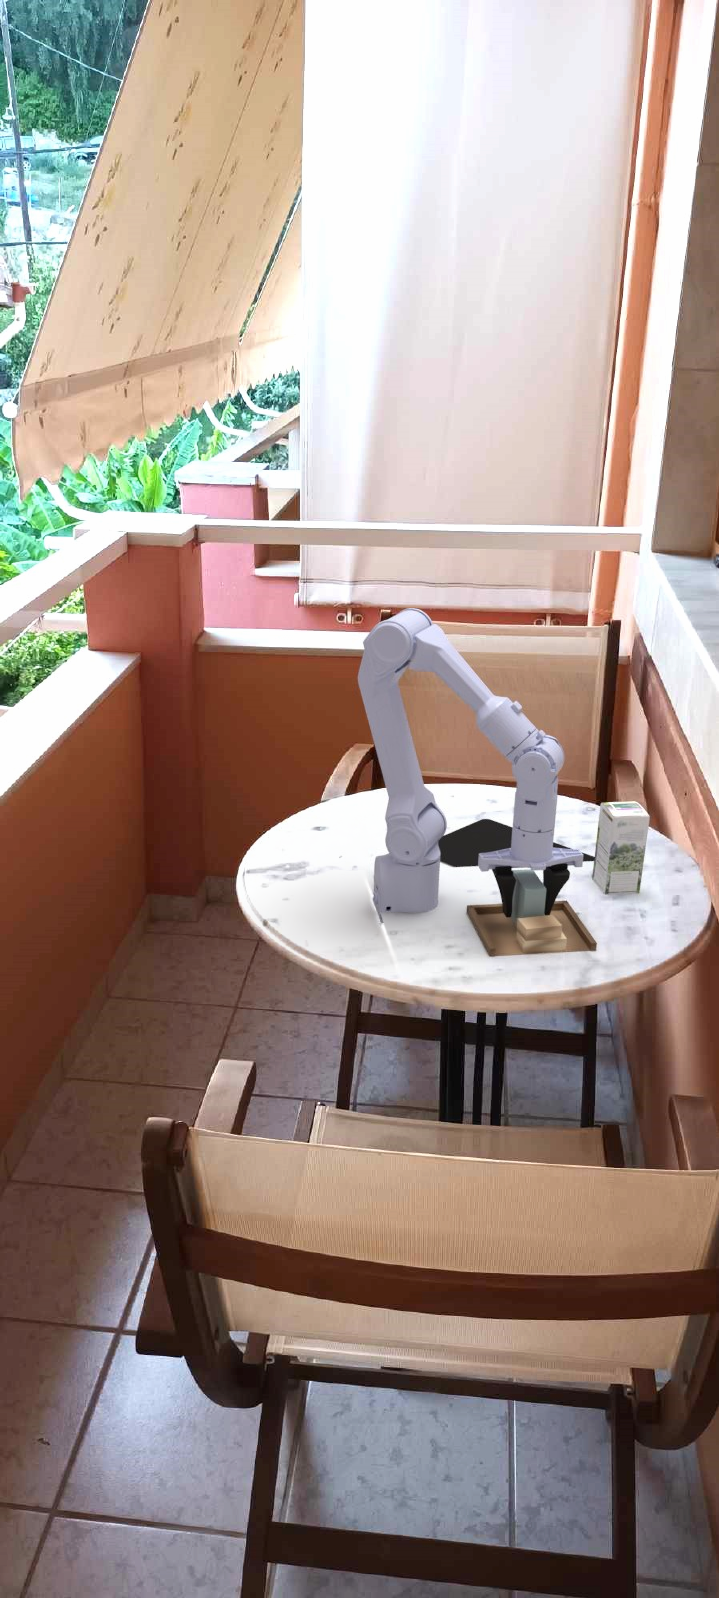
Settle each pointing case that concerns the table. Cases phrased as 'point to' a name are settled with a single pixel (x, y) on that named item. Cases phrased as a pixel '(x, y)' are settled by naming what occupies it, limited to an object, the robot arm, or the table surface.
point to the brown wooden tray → (503, 931)
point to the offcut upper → (539, 927)
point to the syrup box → (620, 847)
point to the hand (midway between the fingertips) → (526, 913)
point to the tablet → (479, 843)
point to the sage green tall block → (527, 895)
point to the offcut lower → (542, 944)
